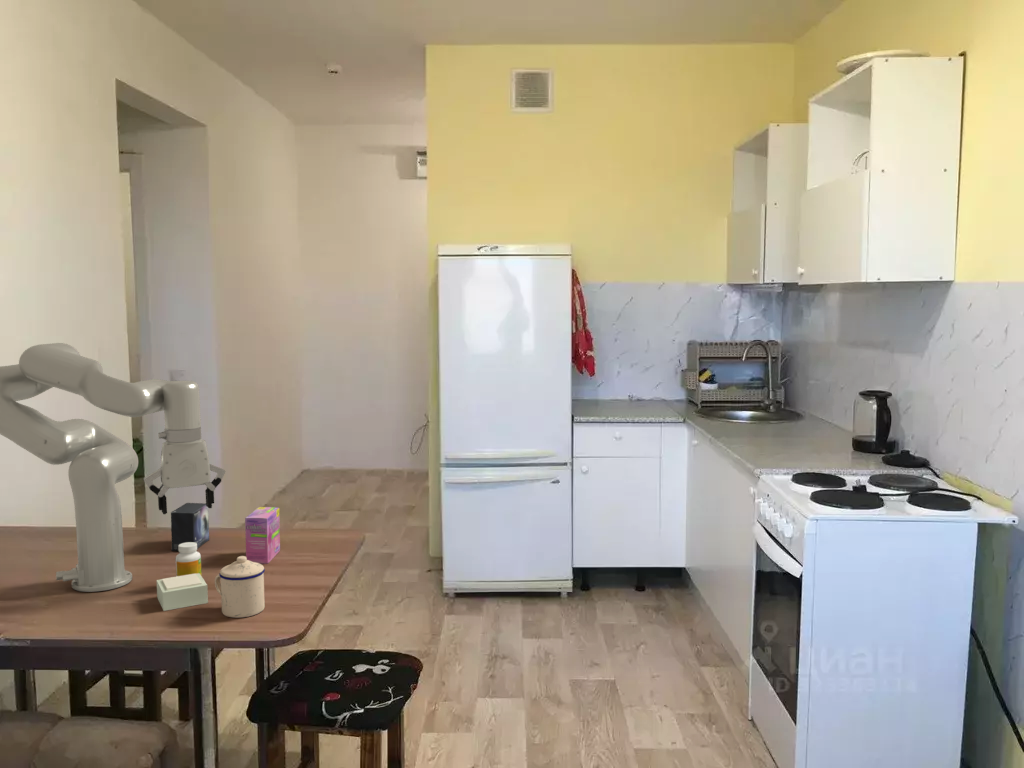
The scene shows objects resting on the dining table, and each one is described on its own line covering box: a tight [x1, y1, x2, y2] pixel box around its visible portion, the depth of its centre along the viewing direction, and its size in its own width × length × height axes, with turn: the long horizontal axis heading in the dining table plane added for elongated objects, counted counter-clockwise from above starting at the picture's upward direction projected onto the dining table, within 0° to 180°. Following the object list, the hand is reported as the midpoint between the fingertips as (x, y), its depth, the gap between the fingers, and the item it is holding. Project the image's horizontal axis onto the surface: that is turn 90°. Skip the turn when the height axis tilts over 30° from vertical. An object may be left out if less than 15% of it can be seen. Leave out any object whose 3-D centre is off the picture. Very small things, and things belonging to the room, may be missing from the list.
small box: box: [170, 502, 210, 552], centre depth 220 cm, size 11×6×10 cm, turn 179°
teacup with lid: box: [214, 555, 266, 619], centre depth 176 cm, size 12×9×12 cm
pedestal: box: [156, 573, 209, 612], centre depth 181 cm, size 9×9×4 cm
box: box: [244, 506, 281, 565], centre depth 210 cm, size 10×6×12 cm, turn 179°
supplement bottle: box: [175, 542, 203, 577], centre depth 190 cm, size 5×5×10 cm
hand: (186, 509), depth 189 cm, fingers open, 9 cm apart
